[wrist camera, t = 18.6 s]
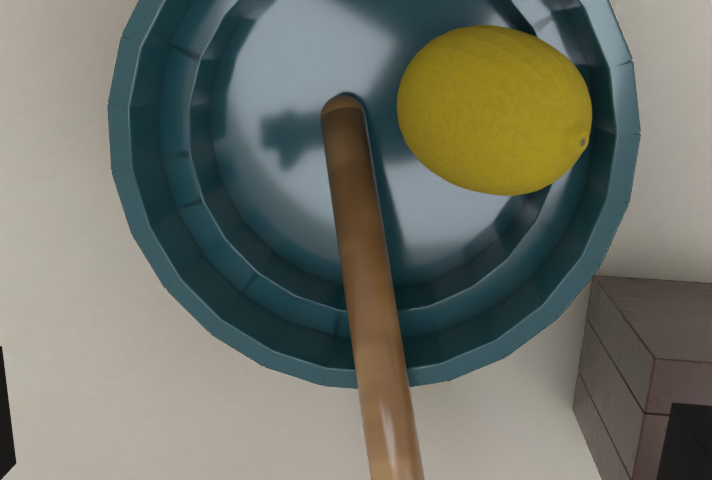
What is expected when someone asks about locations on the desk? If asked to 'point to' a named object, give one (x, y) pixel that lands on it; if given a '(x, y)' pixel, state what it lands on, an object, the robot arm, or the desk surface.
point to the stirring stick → (369, 295)
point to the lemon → (494, 110)
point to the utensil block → (640, 368)
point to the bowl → (311, 184)
